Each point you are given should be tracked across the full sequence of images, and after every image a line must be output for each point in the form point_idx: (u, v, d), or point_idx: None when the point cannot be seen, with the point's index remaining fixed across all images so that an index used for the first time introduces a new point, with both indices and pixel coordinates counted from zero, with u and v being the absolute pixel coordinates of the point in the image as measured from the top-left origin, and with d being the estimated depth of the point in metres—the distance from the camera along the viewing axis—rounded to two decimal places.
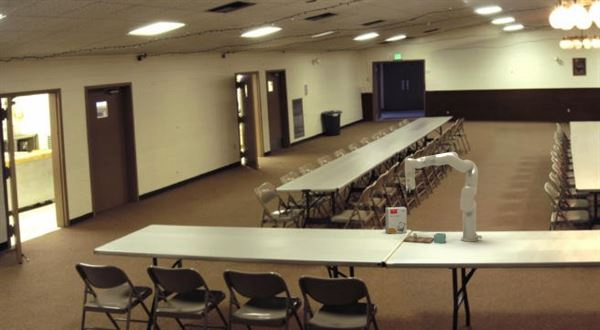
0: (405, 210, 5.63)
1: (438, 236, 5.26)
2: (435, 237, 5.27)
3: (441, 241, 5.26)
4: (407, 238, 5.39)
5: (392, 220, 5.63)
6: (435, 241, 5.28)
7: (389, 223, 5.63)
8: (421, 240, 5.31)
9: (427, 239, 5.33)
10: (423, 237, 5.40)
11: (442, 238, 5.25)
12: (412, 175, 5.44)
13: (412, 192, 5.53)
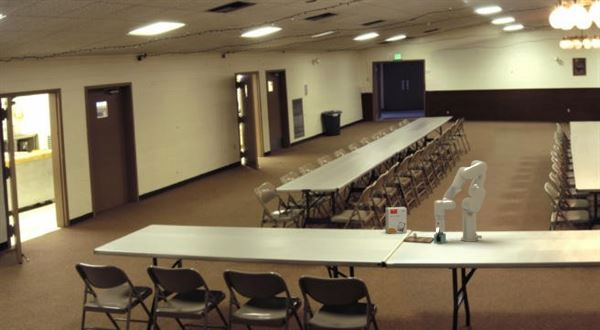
0: (405, 210, 5.63)
1: None
2: (435, 237, 5.27)
3: (441, 241, 5.26)
4: (407, 238, 5.39)
5: (392, 220, 5.63)
6: (435, 241, 5.28)
7: (389, 223, 5.63)
8: (421, 240, 5.31)
9: (427, 239, 5.33)
10: (423, 237, 5.40)
11: (442, 238, 5.25)
12: (442, 218, 5.25)
13: None
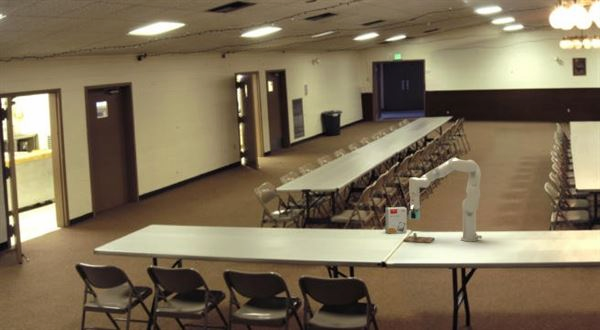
0: (405, 210, 5.63)
1: None
2: (410, 214, 5.34)
3: (416, 218, 5.32)
4: (407, 238, 5.39)
5: (392, 220, 5.63)
6: (410, 218, 5.34)
7: (389, 223, 5.63)
8: (421, 240, 5.31)
9: (427, 239, 5.33)
10: (423, 237, 5.40)
11: (417, 215, 5.31)
12: (417, 195, 5.31)
13: None
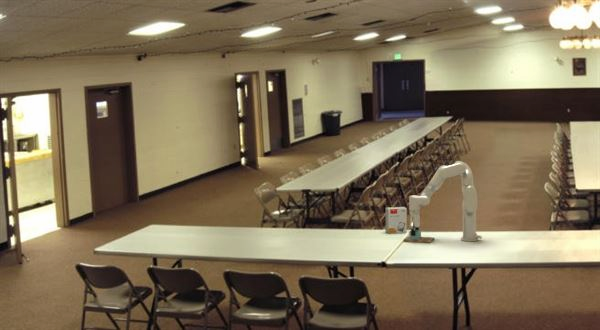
0: (405, 210, 5.63)
1: None
2: (410, 233, 5.35)
3: (416, 237, 5.34)
4: (407, 238, 5.39)
5: (392, 220, 5.63)
6: (410, 237, 5.36)
7: (389, 223, 5.63)
8: (421, 240, 5.31)
9: (427, 239, 5.33)
10: (423, 237, 5.40)
11: (417, 234, 5.33)
12: (417, 213, 5.32)
13: None
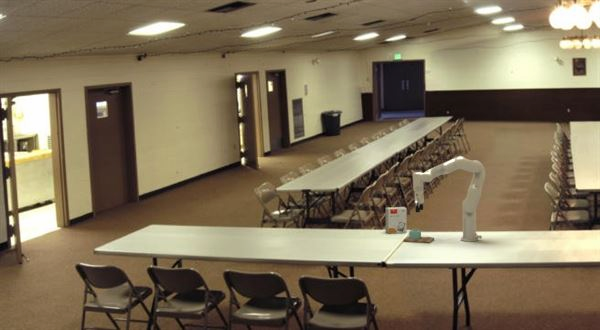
0: (405, 210, 5.63)
1: (413, 232, 5.34)
2: (410, 233, 5.35)
3: (416, 237, 5.34)
4: (407, 238, 5.39)
5: (392, 220, 5.63)
6: (410, 237, 5.36)
7: (389, 223, 5.63)
8: (421, 240, 5.31)
9: (427, 239, 5.33)
10: (423, 237, 5.40)
11: (417, 234, 5.33)
12: (421, 189, 5.33)
13: (421, 206, 5.42)
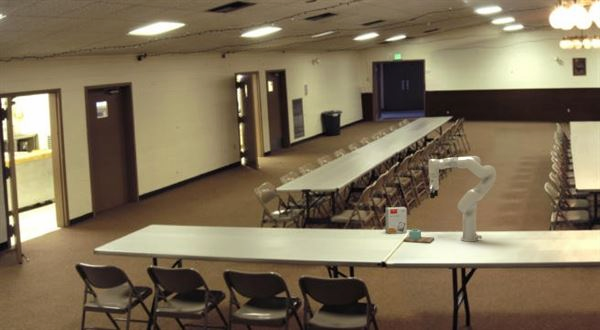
0: (405, 210, 5.63)
1: (413, 232, 5.34)
2: (410, 233, 5.35)
3: (416, 237, 5.34)
4: (407, 238, 5.39)
5: (392, 220, 5.63)
6: (410, 237, 5.36)
7: (389, 223, 5.63)
8: (421, 240, 5.31)
9: (427, 239, 5.33)
10: (423, 237, 5.40)
11: (417, 234, 5.33)
12: (436, 176, 5.42)
13: (436, 193, 5.51)
